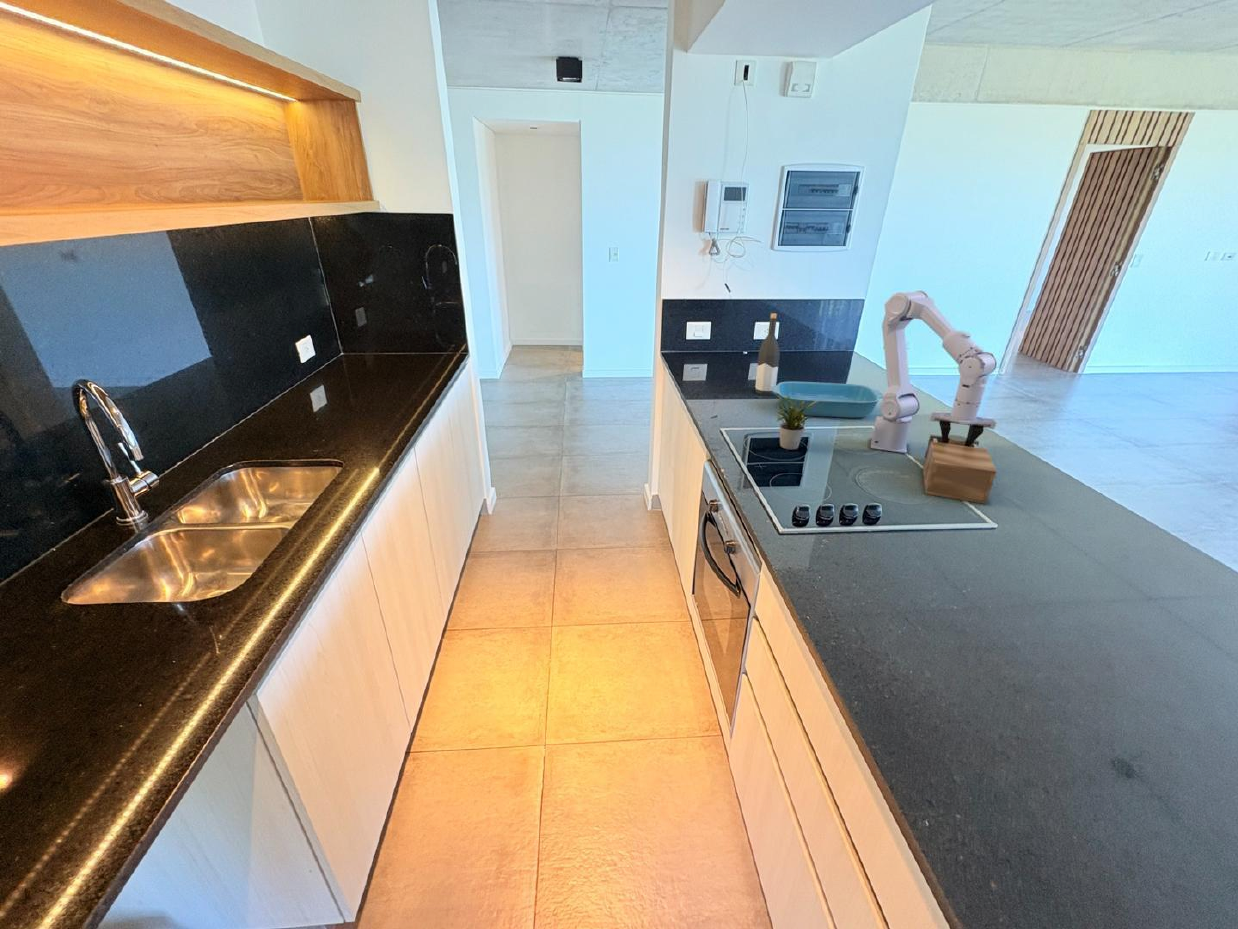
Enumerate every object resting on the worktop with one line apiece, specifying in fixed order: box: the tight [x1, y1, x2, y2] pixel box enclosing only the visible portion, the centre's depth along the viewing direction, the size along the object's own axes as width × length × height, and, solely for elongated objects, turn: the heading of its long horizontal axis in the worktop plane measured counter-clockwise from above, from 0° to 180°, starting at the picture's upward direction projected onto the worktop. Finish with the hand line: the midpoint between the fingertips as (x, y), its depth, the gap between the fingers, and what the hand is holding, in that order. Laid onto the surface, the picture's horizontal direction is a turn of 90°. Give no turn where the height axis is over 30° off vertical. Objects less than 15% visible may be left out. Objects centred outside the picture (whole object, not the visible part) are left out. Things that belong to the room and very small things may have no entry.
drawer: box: [923, 433, 980, 459], centre depth 141 cm, size 18×11×7 cm, turn 155°
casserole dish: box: [772, 381, 883, 419], centre depth 187 cm, size 37×22×7 cm, turn 78°
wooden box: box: [922, 442, 997, 505], centre depth 132 cm, size 15×13×9 cm
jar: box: [946, 434, 967, 446], centre depth 140 cm, size 5×5×5 cm
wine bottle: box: [754, 312, 781, 396], centre depth 202 cm, size 8×8×30 cm
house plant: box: [772, 393, 818, 450], centre depth 155 cm, size 14×14×16 cm
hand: (953, 449), depth 141 cm, fingers closed on jar, 4 cm apart
